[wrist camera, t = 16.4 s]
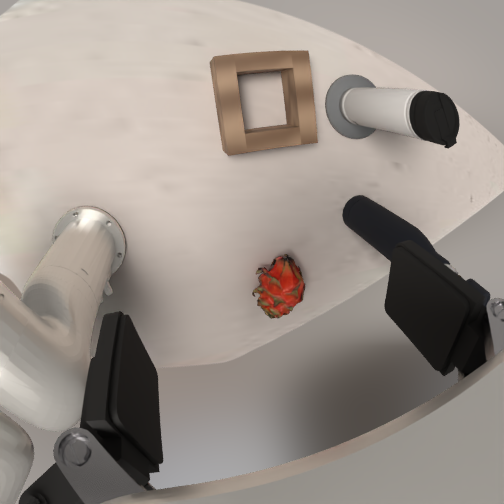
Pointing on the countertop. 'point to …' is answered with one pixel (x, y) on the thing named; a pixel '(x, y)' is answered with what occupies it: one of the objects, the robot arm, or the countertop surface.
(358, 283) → the countertop surface
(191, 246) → the countertop surface
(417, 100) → the travel mug
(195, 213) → the countertop surface
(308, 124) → the mug holder
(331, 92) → the coaster
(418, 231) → the black water bottle
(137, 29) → the countertop surface
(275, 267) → the dragon fruit
